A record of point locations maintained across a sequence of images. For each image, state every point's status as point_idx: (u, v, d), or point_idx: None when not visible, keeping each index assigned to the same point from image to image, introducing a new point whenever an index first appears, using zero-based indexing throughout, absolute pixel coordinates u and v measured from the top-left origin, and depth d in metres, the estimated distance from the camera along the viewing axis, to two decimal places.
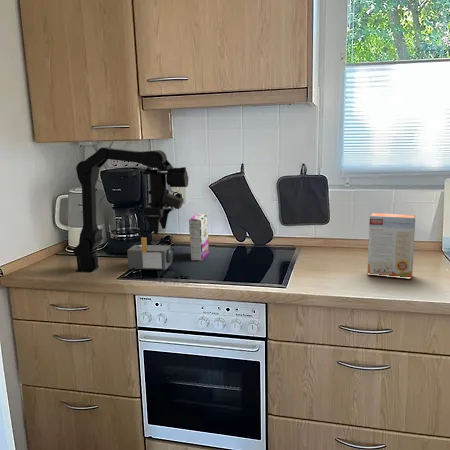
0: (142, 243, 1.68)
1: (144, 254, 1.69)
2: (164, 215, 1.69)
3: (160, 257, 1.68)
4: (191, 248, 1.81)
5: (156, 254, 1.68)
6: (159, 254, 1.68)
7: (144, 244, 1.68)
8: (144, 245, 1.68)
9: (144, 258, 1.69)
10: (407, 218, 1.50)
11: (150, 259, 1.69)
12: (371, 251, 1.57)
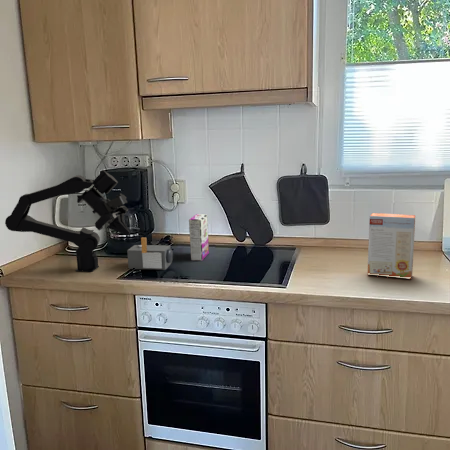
0: (142, 243, 1.68)
1: (144, 254, 1.69)
2: None
3: (160, 257, 1.68)
4: (191, 248, 1.81)
5: (156, 254, 1.68)
6: (159, 254, 1.68)
7: (144, 244, 1.68)
8: (144, 245, 1.68)
9: (144, 258, 1.69)
10: (407, 218, 1.50)
11: (150, 259, 1.69)
12: (371, 251, 1.57)
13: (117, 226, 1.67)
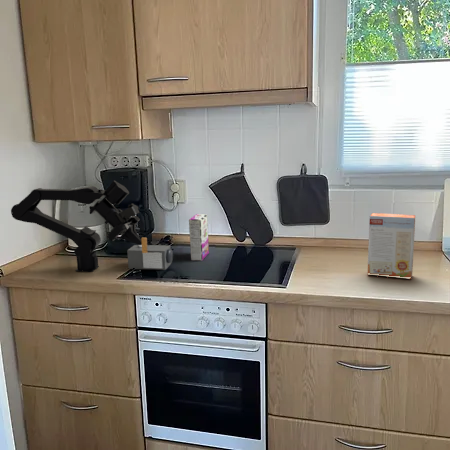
0: (142, 243, 1.68)
1: (144, 254, 1.69)
2: None
3: (160, 257, 1.68)
4: (191, 248, 1.81)
5: (157, 254, 1.68)
6: (159, 254, 1.68)
7: (144, 244, 1.68)
8: (144, 245, 1.68)
9: (144, 258, 1.69)
10: (407, 218, 1.50)
11: (151, 259, 1.69)
12: (371, 251, 1.57)
13: (129, 236, 1.67)
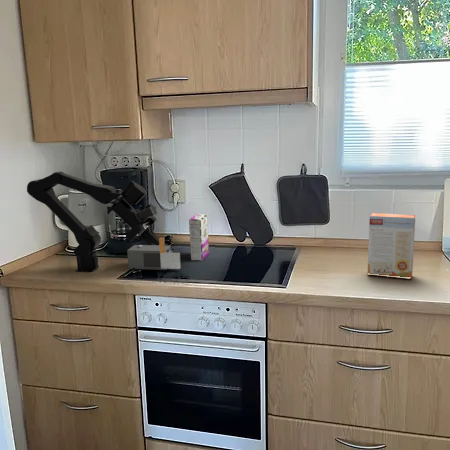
0: (160, 243, 1.67)
1: (162, 254, 1.68)
2: None
3: (178, 257, 1.67)
4: (191, 248, 1.81)
5: (175, 254, 1.67)
6: (177, 254, 1.67)
7: (162, 244, 1.67)
8: (162, 245, 1.67)
9: (162, 258, 1.68)
10: (407, 218, 1.50)
11: (168, 259, 1.68)
12: (371, 251, 1.57)
13: (147, 237, 1.66)
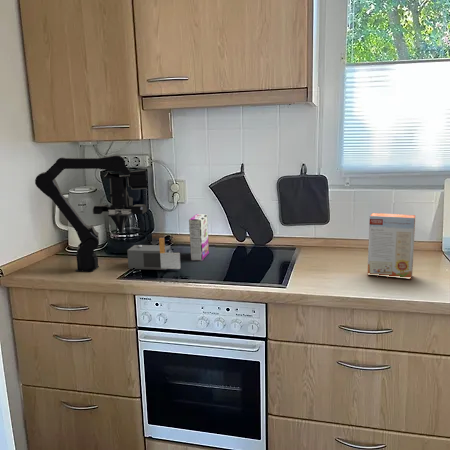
0: (160, 243, 1.67)
1: (162, 254, 1.68)
2: None
3: (178, 257, 1.67)
4: (191, 248, 1.81)
5: (175, 254, 1.67)
6: (177, 254, 1.67)
7: (162, 244, 1.67)
8: (162, 245, 1.67)
9: (162, 258, 1.68)
10: (407, 218, 1.50)
11: (168, 259, 1.68)
12: (371, 251, 1.57)
13: (123, 220, 1.72)
